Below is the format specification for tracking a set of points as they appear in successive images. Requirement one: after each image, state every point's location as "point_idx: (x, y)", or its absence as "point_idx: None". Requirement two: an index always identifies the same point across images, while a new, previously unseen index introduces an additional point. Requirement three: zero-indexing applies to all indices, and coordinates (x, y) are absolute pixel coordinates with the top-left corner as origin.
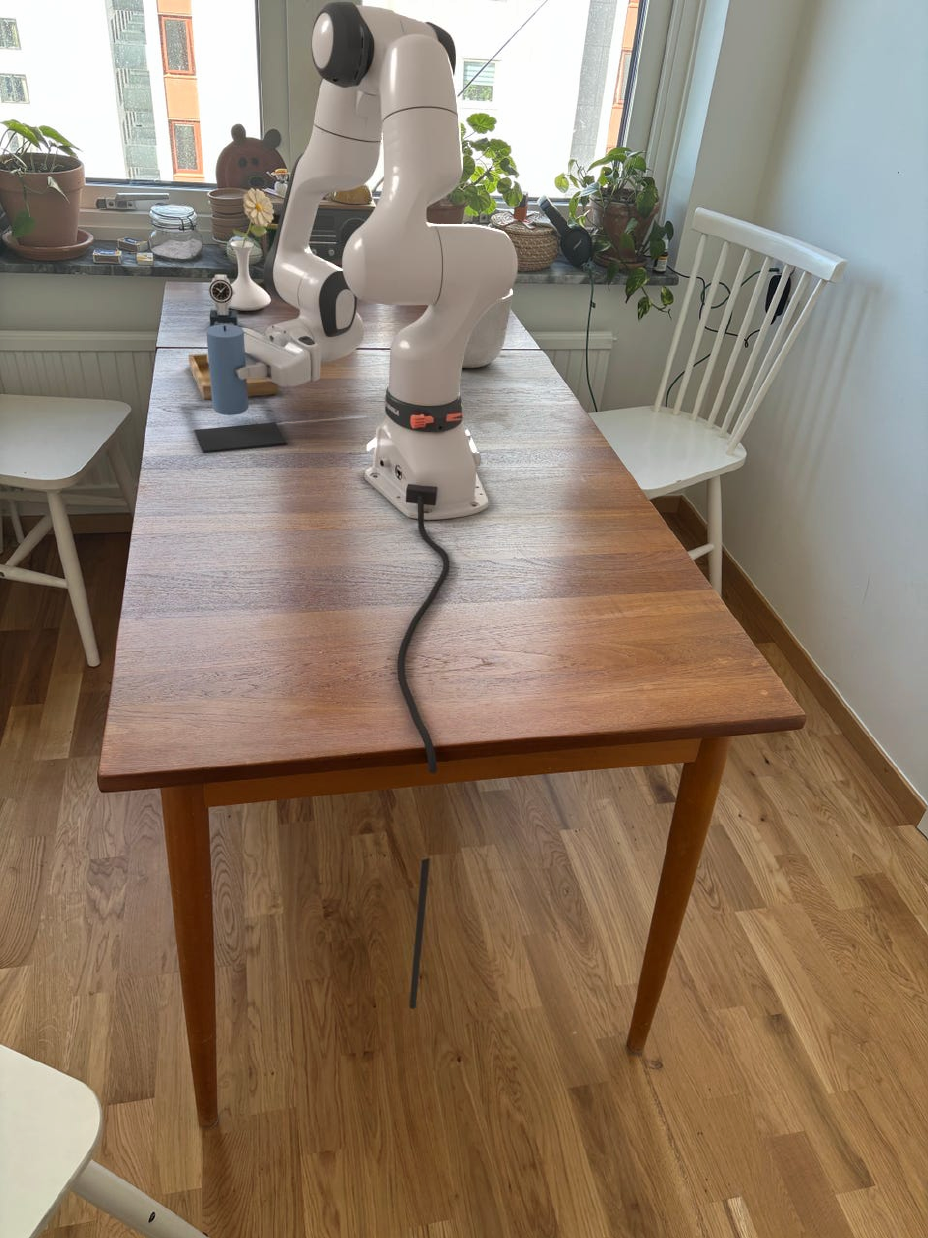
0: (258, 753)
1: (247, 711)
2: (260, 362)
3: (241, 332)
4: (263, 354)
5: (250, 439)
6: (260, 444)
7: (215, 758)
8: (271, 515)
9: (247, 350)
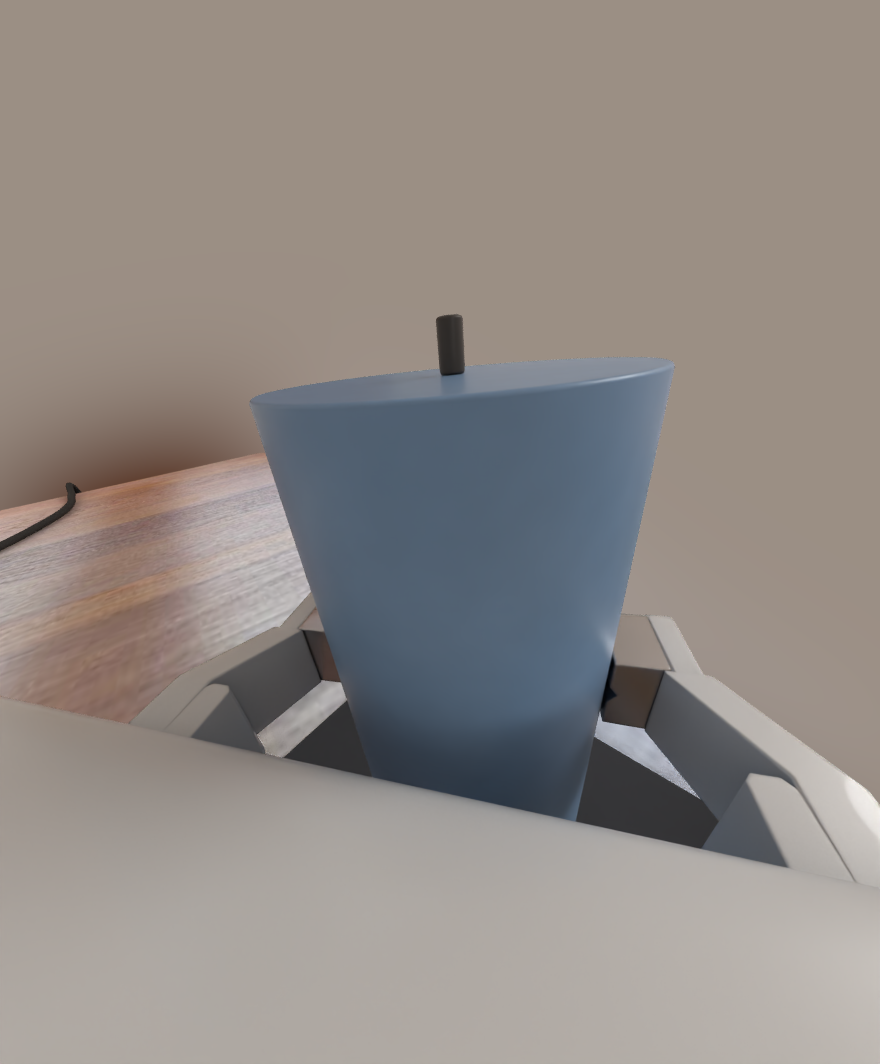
0: (190, 469)
1: (200, 474)
2: (185, 736)
3: (269, 398)
4: (109, 825)
5: (338, 761)
6: (291, 753)
7: (214, 463)
8: (207, 576)
9: (387, 801)
